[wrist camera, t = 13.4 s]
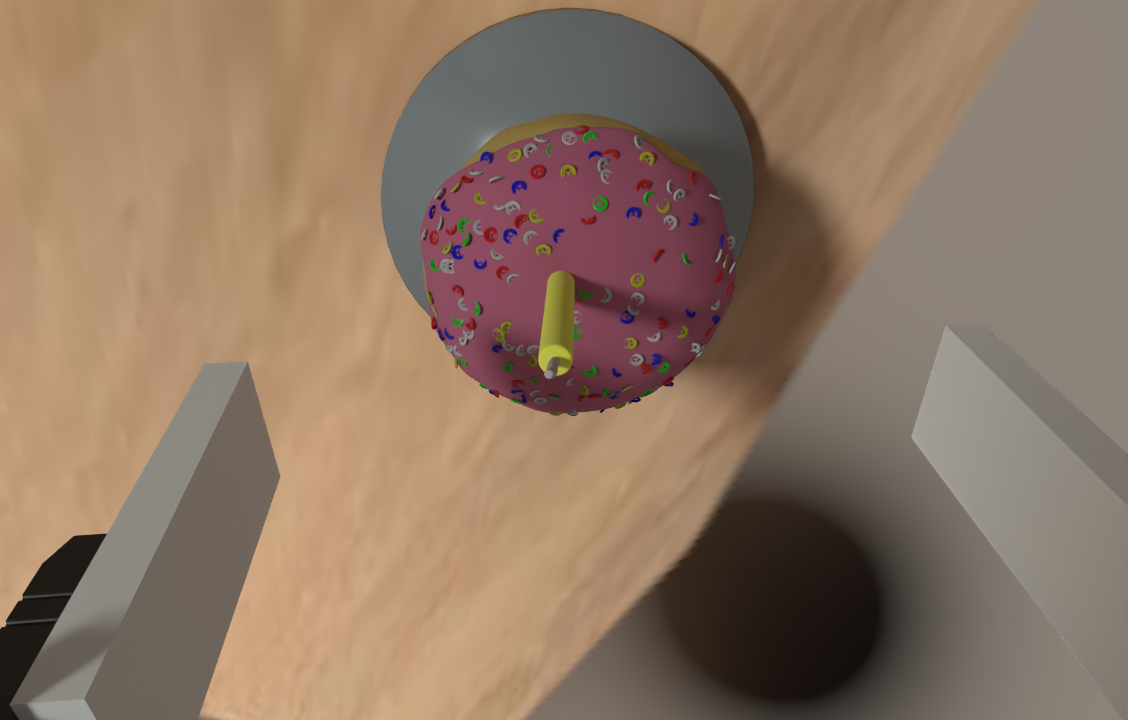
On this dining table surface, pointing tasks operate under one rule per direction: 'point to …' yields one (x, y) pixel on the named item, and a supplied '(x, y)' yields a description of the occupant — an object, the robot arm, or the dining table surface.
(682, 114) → the coaster
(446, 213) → the cupcake
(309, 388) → the dining table surface
